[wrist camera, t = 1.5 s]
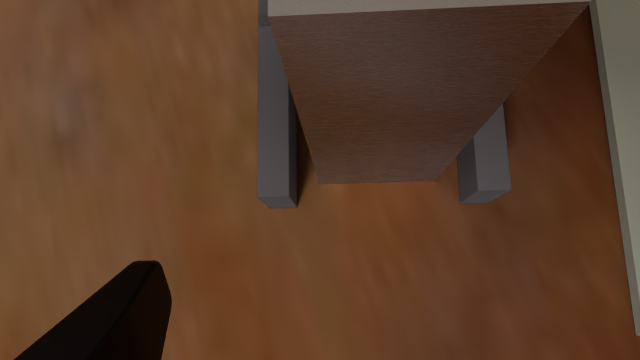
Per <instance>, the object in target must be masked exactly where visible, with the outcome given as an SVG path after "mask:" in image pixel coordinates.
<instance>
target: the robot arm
mask: <svg viewBox="0 0 640 360" xmlns="http://www.w3.org/2000/svg"><path fill="white" fill-rule="evenodd" d="M171 305H172V299H171V293H170V290H169V287H168V284H167V280H166V277H165V274H164V271H163V268H162V266H161V264H160V263H159V262H158V261H154V260H153V261H135V262H133V263H131V264H130V265H128V266H127V267H126V268H125V269H123V270H122V271H121V272H120V273H119V274H117V275H116V276H115V277H114V278H113V279H111V280H110V281H109V282H108V283H106V284H105V285H104V286H103V287H102V288H100V289H99V290H98V291H97V292H95V293H94V294H93V295H92V296H91V297H89V298H88V299H87V300H86V301H85V302H83V303H82V304H81V305H80V306H78V307H77V308H76V309H75V310H74V311H72V312H71V313H70V314H69V315H67V316H66V317H65V318H64V319H63V320H61V321H60V322H59V323H58V324H57V325H55V326H54V327H53V328H52V329H50V330H49V331H48V332H47V333H46V334H44V335H43V336H42V337H41V338H39V339H38V340H37V341H36V342H35V343H33V344H32V345H31V346H30V347H29V348H27V349H26V350H25V351H24V352H22V353H21V354H20V355H19V356H18V357H16V358H15V359H14V360H161V358H162V353H163V347H164V342H165V337H166V332H167V327H168V322H169V317H170V312H171Z"/></svg>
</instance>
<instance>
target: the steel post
mask: <svg viewBox="0 0 640 360" xmlns="http://www.w3.org/2000/svg"><path fill="white" fill-rule="evenodd" d="M590 2H591V0H268V19H269V22H270V25H271V29H272V32H273V35H274V38H275V42H276V45H277V48H278V51H279V54H280V58H281V61H282V64H283V67H284V71H285V74H286V77H287V80H288V84H289V87H290V90H291V93H292V97H293V100H294V103H295V106H296V109H297V113H298V116H299V119H300V122H301V126H302V129H303V132H304V135H305V139H306V142H307V145H308V148H309V152H310V155H311V158H312V161H313V164H314V168H315V171H316V174H317V177H318V181H319V184H354V183H388V182H423V181H435V180H436V179H437V178H438V177H439V176H440V175H441V173H442V172H443V171H444V170H445V169H446V168H447V167H448V165H449V164H450V163H451V162H452V161H453V160H454V159H455V157H456V156H457V155H458V154H459V153H460V152H461V150H462V149H463V148H464V147H465V146H466V145H467V144H468V142H469V141H470V140H471V139H472V138H473V137H474V136H475V134H476V133H477V132H478V131H479V130H480V129H481V127H482V126H483V125H484V124H485V123H486V122H487V121H488V119H489V118H490V117H491V116H492V115H493V114H494V113H495V111H496V110H497V109H498V108H499V107H500V106H501V104H502V103H503V102H504V101H505V100H506V99H507V98H508V96H509V95H510V94H511V93H512V92H513V91H514V90H515V88H516V87H517V86H518V85H519V84H520V83H521V81H522V80H523V79H524V78H525V77H526V76H527V75H528V73H529V72H530V71H531V70H532V69H533V68H534V66H535V65H536V64H537V63H538V62H539V61H540V60H541V58H542V57H543V56H544V55H545V54H546V53H547V52H548V50H549V49H550V48H551V47H552V46H553V45H554V43H555V42H556V41H557V40H558V39H559V38H560V37H561V35H562V34H563V33H564V32H565V31H566V30H567V29H568V27H569V26H570V25H571V24H572V23H573V22H574V20H575V19H576V18H577V17H578V16H579V15H580V14H581V12H582V11H583V10H584V9H585V8H586V7H587V6H588V4H589V3H590Z"/></svg>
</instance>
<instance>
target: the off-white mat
mask: <svg viewBox="0 0 640 360" xmlns="http://www.w3.org/2000/svg"><path fill="white" fill-rule="evenodd" d="M589 7H590V14H591V21H592V28H593V35H594V42H595V49H596V56H597V63H598V70H599V77H600V84H601V91H602V98H603V105H604V112H605V120H606V127H607V134H608V141H609V148H610V155H611V162H612V169H613V176H614V183H615V190H616V197H617V204H618V211H619V218H620V225H621V232H622V240H623V247H624V254H625V261H626V268H627V275H628V282H629V289H630V296H631V303H632V310H633V317H634V324H635V331H636V336H640V0H591V2H590V3H589Z"/></svg>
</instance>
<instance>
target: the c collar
mask: <svg viewBox="0 0 640 360" xmlns="http://www.w3.org/2000/svg"><path fill="white" fill-rule="evenodd" d="M457 169H458V182H459V196H460V203H489V202H490V201H492V200H494V199H496V198H498V197H499V196H501V195H503V194H505V193H507V192H508V191H510V190H511V180H510V170H509V160H508V150H507V140H506V129H505V119H504V109H503V103H502V104H501V106H500V107H499V108H498V109H497V110H496V111H495V113H494V114H493V115H492V116H491V117H490V118H489V119H488V121H487V122H486V123H485V124H484V125H483V126H482V127H481V129H480V130H479V131H478V132H477V133H476V134H475V136H474V137H473V138H472V139H471V140H470V141H469V142H468V144H467V145H466V146H465V147H464V148H463V149H462V150H461V152H460V153H459V154H458V155H457ZM257 197H258V198H259V199H260V200H261V201H262V202H263V203H264V204H266V205H267V206H268V207H269V208H297V134H296V106H295V103H294V100H293V97H292V93H291V90H290V87H289V84H288V80H287V77H286V74H285V71H284V67H283V64H282V61H281V58H280V54H279V51H278V48H277V45H276V42H275V38H274V35H273V32H272V29H271V25H270V22H269V19H268V0H259V23H258V147H257Z"/></svg>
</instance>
